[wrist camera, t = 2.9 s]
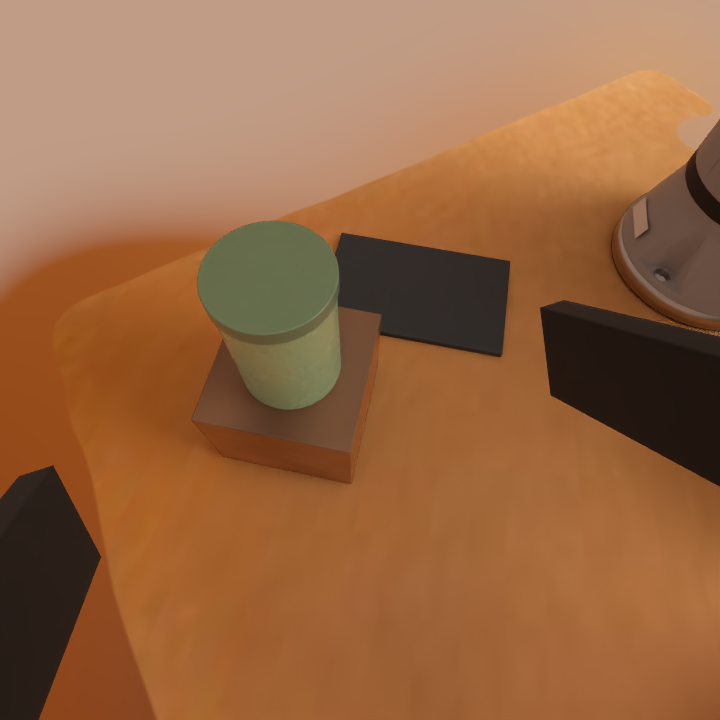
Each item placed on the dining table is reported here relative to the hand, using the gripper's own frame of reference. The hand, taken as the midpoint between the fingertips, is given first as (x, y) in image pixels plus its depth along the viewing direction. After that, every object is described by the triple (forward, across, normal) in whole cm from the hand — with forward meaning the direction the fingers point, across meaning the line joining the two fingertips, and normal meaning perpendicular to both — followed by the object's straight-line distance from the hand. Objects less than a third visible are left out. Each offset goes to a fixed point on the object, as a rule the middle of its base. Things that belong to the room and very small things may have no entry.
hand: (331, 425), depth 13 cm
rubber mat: (+29, +13, -4) cm, 32 cm away
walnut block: (+24, 0, -10) cm, 26 cm away
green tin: (+19, 0, -4) cm, 19 cm away
